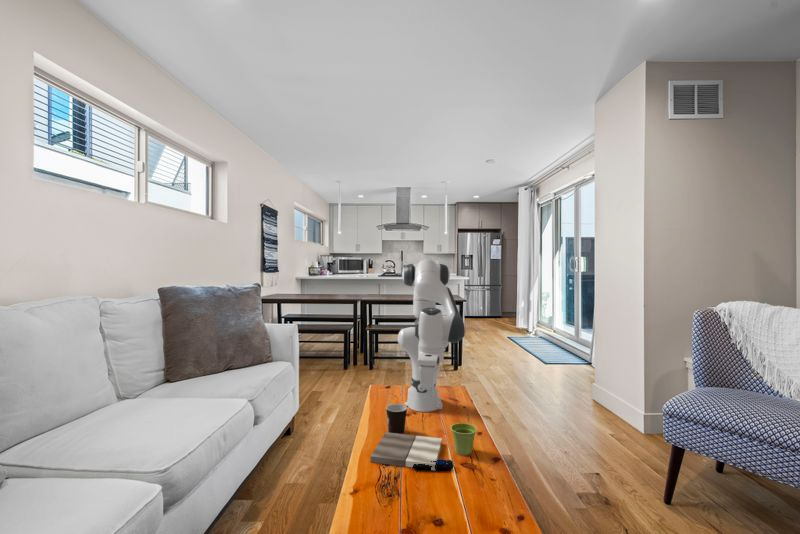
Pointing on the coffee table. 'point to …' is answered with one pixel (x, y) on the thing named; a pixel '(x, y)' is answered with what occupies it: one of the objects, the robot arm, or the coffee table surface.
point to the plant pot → (463, 437)
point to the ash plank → (424, 451)
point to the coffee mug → (396, 418)
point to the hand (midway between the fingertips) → (430, 395)
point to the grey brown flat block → (393, 449)
